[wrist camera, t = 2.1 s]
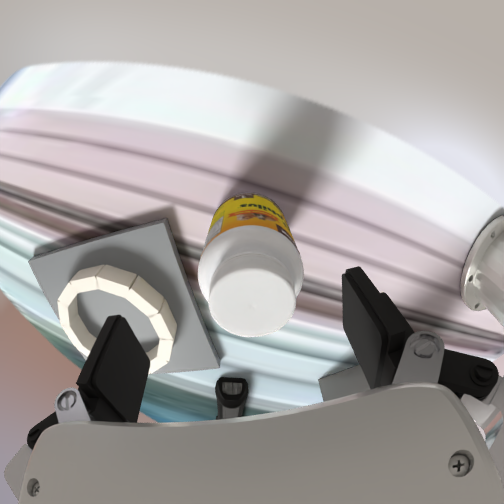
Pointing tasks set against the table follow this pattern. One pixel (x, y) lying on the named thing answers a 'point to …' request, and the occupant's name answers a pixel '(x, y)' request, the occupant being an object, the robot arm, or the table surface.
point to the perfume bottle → (343, 383)
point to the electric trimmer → (231, 397)
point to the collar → (129, 295)
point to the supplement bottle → (250, 266)
